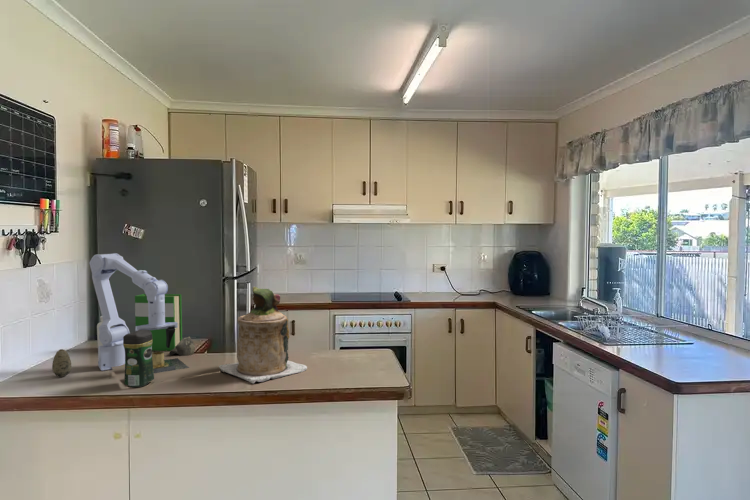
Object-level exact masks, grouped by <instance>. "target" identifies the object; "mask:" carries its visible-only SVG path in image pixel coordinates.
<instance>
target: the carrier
mask: <svg viewBox="0 0 750 500" xmlns="http://www.w3.org/2000/svg"><path fill="white" fill-rule="evenodd" d="M164 362H166V363H168V364H169V366H167V367H161V368H153V370H154V374H158V373H159V374H160V373H166V372H170V371H177V370H184V369H189V368H190V367H189V366H188V365H187V364H186V363H184V362H183V361H181V359H179V358H178V357H176V358H170V359H164Z"/></svg>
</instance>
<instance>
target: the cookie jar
mask: <svg viewBox="0 0 750 500" xmlns="http://www.w3.org/2000/svg"><path fill="white" fill-rule="evenodd" d="M252 295H253V296H252V300H253V303H254V308H252V309H251V311H249V312H247V313H246V314H244V315H240V316H238V317H237V324H238V325H239V327H238V338H237V343H236V359H237V361H238V362H233V363H226V364H220V365H219V366H218V367H219V369H220V372H221V373H222V372H224V373H227V374H229V375H232V376H234V377H236V378H237V377H238V378H239V379H242V380H245V381H247V382H249V383H251V384H253V385H254V384H255V383H256V382H258V383H260V382H261V383H262V382H266V381H269V380H271V379H272V380H273V379H275V380H276V379H279V378H282V377H288V376H291V375H294V374H299V373H302V372H305V371H306V370H307V369H308V366H307V365H306V364H301V363H298V362H294V361H291V360H289V352H288V349H289V346H288V345H289V339H290V336H291V335H290V329H289V319H288V316H286V315H285V314H283V313H282V312H281V311H279V310H278V307H277V305H279V304H280V302H281V295H280V294H277V293H274V292H273V290H271V289H269V288H258V287H257V286H253V287H252Z"/></svg>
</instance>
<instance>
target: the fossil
mask: <svg viewBox="0 0 750 500" xmlns="http://www.w3.org/2000/svg"><path fill="white" fill-rule="evenodd" d="M195 349H196V346H195V343H194V341H193V340H192V338H191V336H188V337H184V338H183V337H182V340H181V341H180V342H179V343H178V344H177V345H176V346H175V348H174V349H173V350H171V351H169V353H168V354H169V356H174V355H176V354H177V355H179V356H180V357H186V356H187V357H188V356H192V355H194V354H195Z"/></svg>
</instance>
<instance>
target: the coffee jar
mask: <svg viewBox="0 0 750 500" xmlns="http://www.w3.org/2000/svg"><path fill="white" fill-rule="evenodd" d="M152 342H153V338H152V333H151V332H150V330H138V331H136V330H134V331H133V332H130V333H129V334H126V335H125V336H124V337H123V346H124V349H125V364H124V385H125V386H127V387H128V388H139V387H145V386H147V385H148V384H150V383H152V382H151V381H153V380H155V373H154V370H153V360H152V353H153V351H152Z"/></svg>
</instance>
